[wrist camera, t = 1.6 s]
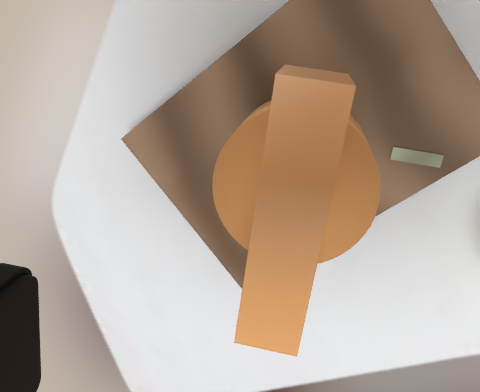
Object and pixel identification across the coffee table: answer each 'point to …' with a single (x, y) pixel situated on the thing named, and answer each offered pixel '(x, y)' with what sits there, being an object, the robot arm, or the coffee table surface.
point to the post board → (363, 107)
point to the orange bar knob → (294, 198)
